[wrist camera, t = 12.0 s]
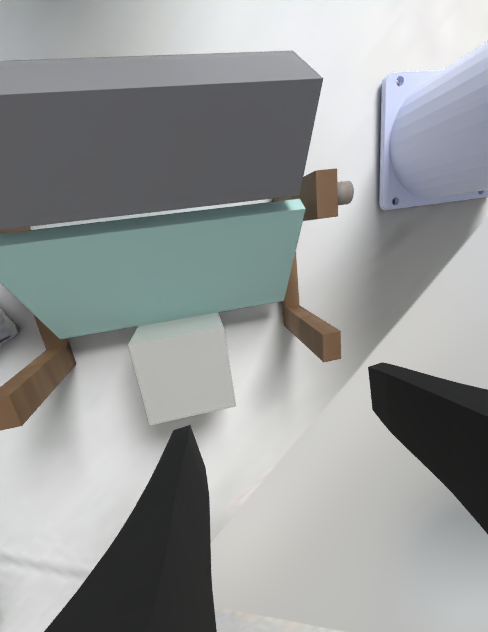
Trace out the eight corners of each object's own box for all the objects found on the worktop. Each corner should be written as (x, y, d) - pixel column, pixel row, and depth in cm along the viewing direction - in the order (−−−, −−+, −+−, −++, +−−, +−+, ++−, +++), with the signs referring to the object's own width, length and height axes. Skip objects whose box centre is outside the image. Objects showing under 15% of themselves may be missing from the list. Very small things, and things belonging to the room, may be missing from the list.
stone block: (223, 327, 15) (235, 406, 16) (215, 305, 20) (225, 368, 21) (127, 344, 14) (149, 425, 16) (142, 317, 19) (158, 381, 20)
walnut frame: (293, 97, 17) (352, 19, 11) (306, 321, 21) (354, 355, 15) (-47, 118, 14) (-224, 29, 8) (47, 369, 19) (-22, 435, 12)
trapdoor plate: (305, 50, 10) (337, 77, 9) (271, 269, 20) (284, 301, 19) (-131, 65, 8) (-192, 104, 7) (66, 301, 18) (60, 340, 17)
